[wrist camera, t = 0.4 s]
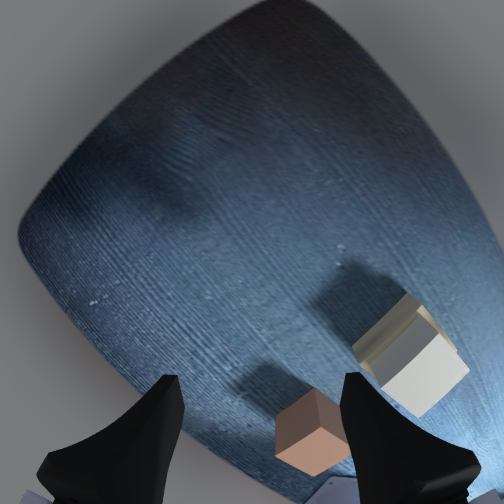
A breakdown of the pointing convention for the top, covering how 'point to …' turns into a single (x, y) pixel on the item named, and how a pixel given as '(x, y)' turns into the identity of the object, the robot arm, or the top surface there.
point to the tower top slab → (418, 367)
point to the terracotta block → (311, 434)
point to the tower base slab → (391, 331)
